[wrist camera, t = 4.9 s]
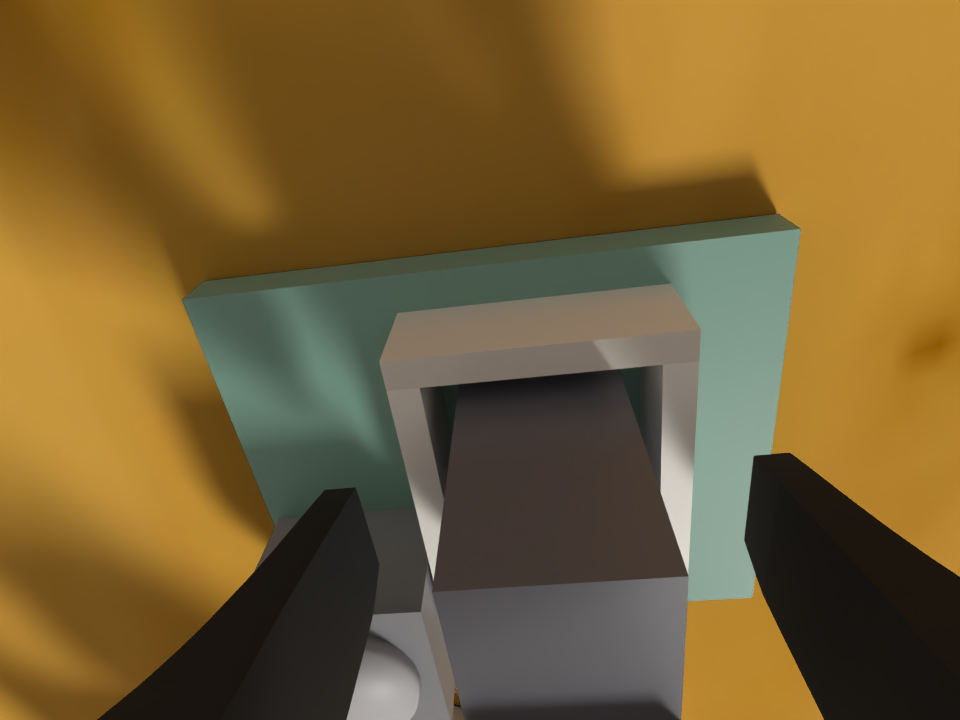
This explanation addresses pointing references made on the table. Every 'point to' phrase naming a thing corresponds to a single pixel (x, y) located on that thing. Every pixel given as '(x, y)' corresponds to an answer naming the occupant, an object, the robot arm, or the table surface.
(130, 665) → the table surface
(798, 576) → the robot arm
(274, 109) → the table surface
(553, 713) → the plug
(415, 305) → the board
